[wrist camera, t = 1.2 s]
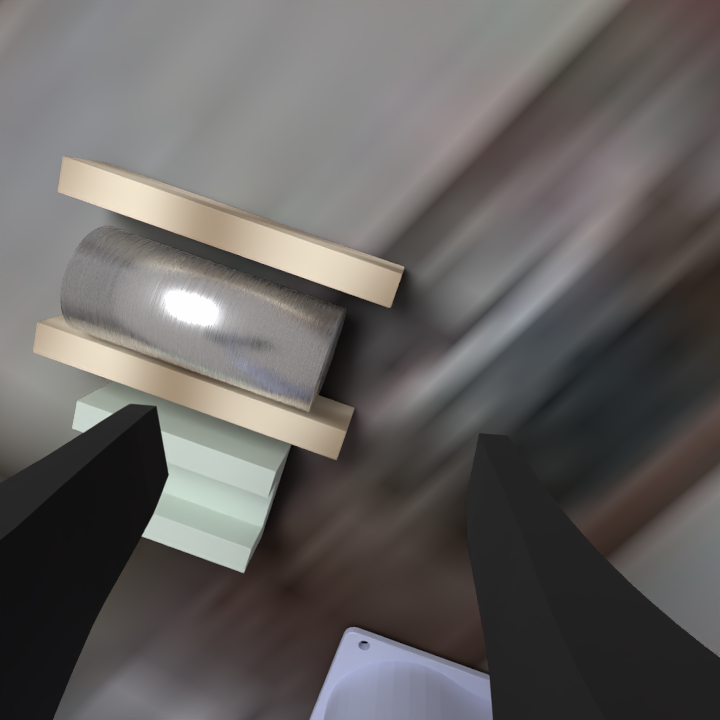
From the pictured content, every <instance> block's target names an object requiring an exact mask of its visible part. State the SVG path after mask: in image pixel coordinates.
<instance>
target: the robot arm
mask: <svg viewBox="0 0 720 720" xmlns="http://www.w3.org/2000/svg"><path fill="white" fill-rule="evenodd" d="M168 476H169V473H168V467H167V462H166V456H165V450H164V445H163V439H162V434H161V428H160V422H159V417H158V411H157V406H152V405H141V404H129V405H127V406H125V407H123V408H122V409H120V410H118V411H117V412H115V413H113V414H112V415H110V416H109V417H107V418H105V419H104V420H102V421H101V422H99V423H98V424H96V425H95V426H93V427H92V428H90V429H88V430H87V431H85V432H84V433H82V434H81V435H79V436H78V437H76V438H74V439H73V440H71V441H70V442H68V443H67V444H65V445H63V446H62V447H60V448H59V449H57V450H56V451H54V452H52V453H51V454H49V455H48V456H46V457H44V458H43V459H41V460H39V461H37V462H36V463H34V464H32V465H31V466H29V467H27V468H25V469H24V470H22V471H20V472H19V473H17V474H15V475H13V476H12V477H10V478H8V479H7V480H5V481H3V482H2V483H0V720H53V718H54V715H55V713H56V711H57V708H58V706H59V703H60V701H61V698H62V696H63V694H64V691H65V689H66V686H67V684H68V681H69V679H70V676H71V674H72V672H73V669H74V667H75V665H76V662H77V660H78V658H79V655H80V653H81V651H82V649H83V646H84V644H85V642H86V640H87V637H88V635H89V633H90V630H91V628H92V626H93V624H94V622H95V620H96V618H97V616H98V614H99V612H100V610H101V608H102V606H103V604H104V602H105V601H106V599H107V597H108V595H109V593H110V592H111V590H112V588H113V586H114V585H115V583H116V581H117V579H118V577H119V576H120V574H121V572H122V570H123V569H124V567H125V565H126V563H127V561H128V560H129V558H130V556H131V554H132V553H133V551H134V549H135V547H136V545H137V544H138V542H139V540H140V538H141V536H142V535H143V533H144V531H145V529H146V527H147V525H148V524H149V522H150V520H151V518H152V516H153V514H154V512H155V509H156V507H157V504H158V502H159V500H160V497H161V494H162V492H163V489H164V486H165V484H166V481H167V478H168ZM466 522H467V538H468V548H469V554H470V560H471V566H472V571H473V577H474V583H475V588H476V594H477V599H478V605H479V611H480V616H481V622H482V627H483V633H484V638H485V644H486V652H487V659H488V667H489V675H487V674H485V673H482V672H479V671H476V670H474V669H471V668H468V667H465V666H463V665H460V664H457V663H454V662H451V661H449V660H446V659H443V658H440V657H438V656H435V655H432V654H429V653H427V652H424V651H421V650H418V649H415V648H413V647H410V646H407V645H404V644H402V643H399V642H396V641H393V640H391V639H388V638H385V637H382V636H379V635H377V634H374V633H371V632H368V631H366V630H363V629H360V628H357V627H350V628H348V629H346V631H345V632H344V635H343V637H342V639H341V642H340V644H339V647H338V649H337V652H336V654H335V657H334V659H333V662H332V664H331V667H330V669H329V672H328V674H327V677H326V679H325V682H324V684H323V687H322V689H321V692H320V694H319V697H318V699H317V702H316V704H315V707H314V709H313V712H312V714H311V717H310V719H309V720H720V657H718V656H717V655H716V654H714V653H713V652H712V651H710V650H709V649H708V648H706V647H705V646H704V645H702V644H701V643H700V642H699V641H697V640H696V639H695V638H694V637H692V636H691V635H690V634H689V633H687V632H686V631H685V630H684V629H682V628H681V627H680V626H679V625H677V624H676V623H675V622H674V621H673V620H672V619H670V618H669V617H668V616H667V615H666V614H665V613H663V612H662V611H661V610H660V609H659V608H658V607H656V606H655V605H654V604H653V603H652V602H651V601H649V600H648V599H647V598H646V597H645V596H644V595H643V594H642V593H641V592H639V591H638V590H637V589H636V588H635V587H634V586H633V585H632V584H631V583H630V582H629V581H628V580H627V579H626V578H625V577H624V576H623V575H622V574H620V573H619V572H618V571H617V570H616V569H615V568H614V567H613V566H612V565H611V564H610V563H609V562H608V561H607V560H606V559H605V558H604V557H603V556H602V555H601V554H600V553H599V552H598V550H597V549H596V548H595V547H594V546H593V545H592V544H591V543H590V542H589V541H588V539H587V538H586V537H585V536H584V535H583V534H582V533H581V531H580V530H579V529H578V528H577V527H576V526H575V525H574V523H573V522H572V521H571V520H570V519H569V517H568V516H567V515H566V514H565V513H564V511H563V510H562V509H561V507H560V506H559V505H558V504H557V502H556V501H555V500H554V499H553V497H552V496H551V495H550V493H549V492H548V491H547V490H546V488H545V487H544V486H543V484H542V483H541V482H540V480H539V479H538V478H537V476H536V475H535V473H534V472H533V471H532V469H531V468H530V466H529V465H528V464H527V462H526V461H525V459H524V458H523V456H522V455H521V454H520V452H519V451H518V449H517V448H516V446H515V445H514V443H513V442H512V441H511V439H510V438H509V437H508V436H505V435H493V434H482V433H479V437H478V442H477V447H476V452H475V457H474V462H473V467H472V472H471V477H470V482H469V487H468V492H467V497H466ZM360 641H367V642H368V643H367V644H364V643H362V642H360Z"/></svg>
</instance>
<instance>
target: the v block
mask: <svg viewBox="0 0 720 720" xmlns="http://www.w3.org/2000/svg"><path fill="white" fill-rule="evenodd" d="M129 404H141V405H152V406H157V411H158V417H159V422H160V428H161V434H162V439H163V445H164V450H165V456H166V462H167V467H168V473H169V476H168V478H167V481H166V484H165V486H164V489H163V492H162V494H161V497H160V500H159V502H158V504H157V507H156V509H155V512H154V514H153V516H152V518H151V520H150V522H149V524H148V525H147V527H146V529H145V531H144V533H143V535H142V536H143V537H145V538H148V539H151V540H154V541H156V542H159V543H162V544H165V545H167V546H170V547H173V548H176V549H179V550H181V551H184V552H187V553H190V554H192V555H195V556H198V557H201V558H204V559H206V560H209V561H212V562H215V563H217V564H220V565H223V566H226V567H228V568H231V569H234V570H237V571H240V572H242V573H244V572H245V569H246V567H247V565H248V563H249V561H250V559H251V557H252V555H253V553H254V551H255V549H256V547H257V545H258V543H259V541H260V539H261V537H262V534H263V531H264V528H265V525H266V522H267V518H268V515H269V512H270V509H271V506H272V503H273V500H274V497H275V494H276V491H277V487H278V484H279V481H280V478H281V475H282V472H283V469H284V466H285V463H286V460H287V456H288V453H289V450H290V447H291V444H289V443H286V442H283V441H281V440H278V439H275V438H272V437H269V436H267V435H264V434H261V433H258V432H255V431H253V430H250V429H247V428H244V427H241V426H239V425H236V424H233V423H230V422H227V421H224V420H222V419H219V418H216V417H213V416H210V415H208V414H205V413H202V412H199V411H196V410H194V409H191V408H188V407H185V406H182V405H179V404H177V403H174V402H171V401H168V400H165V399H163V398H160V397H157V396H154V395H151V394H149V393H146V392H143V391H140V390H137V389H135V388H132V387H129V386H126V385H123V384H120V383H118V382H115V381H113V382H111V383H109V384H107V385H105V386H104V387H102V388H100V389H98V390H96V391H94V392H93V393H91V394H89V395H87V396H85V397H83V398H82V399H80V400H78V401H77V405H76V410H75V416H74V421H73V427H72V429H75V430H78V431H81V432H85V431H87V430H88V429H90V428H92V427H93V426H95V425H96V424H98V423H99V422H101V421H102V420H104V419H105V418H107V417H109V416H110V415H112V414H113V413H115V412H117V411H118V410H120V409H122V408H123V407H125V406H127V405H129Z"/></svg>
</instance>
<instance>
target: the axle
mask: <svg viewBox="0 0 720 720" xmlns="http://www.w3.org/2000/svg"><path fill="white" fill-rule="evenodd" d="M61 309H62V314H63V317H64V319H65V321H66V323H67V324H68V325H69V326H70V327H71V328H73V329H75V330H78V331H81V332H83V333H86V334H89V335H92V336H95V337H97V338H100V339H103V340H106V341H109V342H112V343H114V344H117V345H120V346H123V347H126V348H129V349H131V350H134V351H137V352H140V353H143V354H145V355H148V356H151V357H154V358H157V359H160V360H162V361H165V362H168V363H171V364H174V365H177V366H179V367H182V368H185V369H188V370H191V371H193V372H196V373H199V374H202V375H205V376H208V377H210V378H213V379H216V380H219V381H222V382H224V383H227V384H230V385H233V386H236V387H239V388H241V389H244V390H247V391H250V392H253V393H256V394H258V395H261V396H264V397H267V398H270V399H272V400H275V401H278V402H281V403H284V404H287V405H289V406H292V407H295V408H298V409H301V410H303V411H306V412H310V411H311V410H312V408H313V406H314V404H315V402H316V400H317V398H318V395H319V393H320V390H321V388H322V385H323V383H324V380H325V378H326V375H327V372H328V370H329V367H330V364H331V361H332V359H333V356H334V353H335V350H336V347H337V344H338V341H339V337H340V334H341V331H342V327H343V324H344V320H345V316H346V308H343V307H341V306H338V305H335V304H332V303H329V302H326V301H323V300H321V299H318V298H315V297H312V296H309V295H306V294H303V293H301V292H298V291H295V290H292V289H289V288H286V287H284V286H281V285H278V284H275V283H272V282H269V281H266V280H264V279H261V278H258V277H255V276H252V275H249V274H246V273H244V272H241V271H238V270H235V269H232V268H229V267H226V266H224V265H221V264H218V263H215V262H212V261H209V260H207V259H204V258H201V257H198V256H195V255H192V254H189V253H187V252H184V251H181V250H178V249H175V248H172V247H169V246H167V245H164V244H161V243H158V242H155V241H152V240H149V239H147V238H144V237H141V236H138V235H135V234H132V233H130V232H127V231H124V230H121V229H118V228H115V227H112V226H102V227H99V228H97V229H95V230H93V231H92V232H91V233H89V234H88V235H87V236H86V237H85V238H84V239H83V240H82V242H81V243H80V244H79V245H78V247H77V248H76V250H75V251H74V253H73V255H72V257H71V259H70V261H69V263H68V266H67V268H66V271H65V274H64V278H63V282H62V288H61Z"/></svg>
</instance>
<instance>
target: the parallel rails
mask: <svg viewBox="0 0 720 720" xmlns="http://www.w3.org/2000/svg"><path fill="white" fill-rule="evenodd" d="M58 192H60V193H63V194H65V195H68V196H71V197H74V198H77V199H80V200H83V201H85V202H88V203H91V204H94V205H97V206H100V207H103V208H105V209H108V210H111V211H114V212H117V213H120V214H123V215H125V216H128V217H131V218H134V219H137V220H140V221H143V222H145V223H148V224H151V225H154V226H157V227H160V228H163V229H165V230H168V231H171V232H174V233H177V234H180V235H183V236H185V237H188V238H191V239H194V240H197V241H200V242H203V243H205V244H208V245H211V246H214V247H217V248H220V249H222V250H225V251H228V252H231V253H234V254H237V255H240V256H242V257H245V258H248V259H251V260H254V261H257V262H260V263H262V264H265V265H268V266H271V267H274V268H277V269H280V270H282V271H285V272H288V273H291V274H294V275H297V276H300V277H302V278H305V279H308V280H311V281H314V282H317V283H320V284H322V285H325V286H328V287H331V288H334V289H337V290H340V291H342V292H345V293H348V294H351V295H354V296H357V297H360V298H362V299H365V300H368V301H371V302H374V303H377V304H379V305H382V306H385V307H388V308H391V305H392V302H393V299H394V296H395V294H396V291H397V288H398V285H399V282H400V279H401V277H402V274H403V270H404V267H403V266H400V265H397V264H394V263H391V262H389V261H386V260H383V259H380V258H377V257H374V256H371V255H369V254H366V253H363V252H360V251H357V250H354V249H351V248H348V247H346V246H343V245H340V244H337V243H334V242H331V241H328V240H325V239H323V238H320V237H317V236H314V235H311V234H308V233H305V232H303V231H300V230H297V229H294V228H291V227H288V226H285V225H282V224H280V223H277V222H274V221H271V220H268V219H265V218H262V217H260V216H257V215H254V214H251V213H248V212H245V211H242V210H239V209H237V208H234V207H231V206H228V205H225V204H222V203H219V202H217V201H214V200H211V199H208V198H205V197H202V196H199V195H196V194H194V193H191V192H188V191H185V190H182V189H179V188H176V187H174V186H171V185H168V184H165V183H162V182H159V181H156V180H153V179H151V178H148V177H145V176H142V175H139V174H136V173H133V172H131V171H128V170H125V169H122V168H119V167H116V166H113V165H110V164H108V163H104V162H98V161H91V160H85V159H79V158H72V157H66V156H63V161H62V167H61V174H60V180H59V186H58ZM33 352H34V353H37V354H40V355H42V356H45V357H48V358H51V359H54V360H56V361H59V362H62V363H65V364H68V365H71V366H73V367H76V368H79V369H82V370H85V371H87V372H90V373H93V374H96V375H99V376H101V377H104V378H107V379H110V380H113V381H115V382H118V383H121V384H124V385H127V386H130V387H132V388H135V389H138V390H141V391H144V392H146V393H149V394H152V395H155V396H158V397H160V398H163V399H166V400H169V401H172V402H174V403H177V404H180V405H183V406H186V407H189V408H191V409H194V410H197V411H200V412H203V413H205V414H208V415H211V416H214V417H217V418H219V419H222V420H225V421H228V422H231V423H234V424H236V425H239V426H242V427H245V428H248V429H250V430H253V431H256V432H259V433H262V434H264V435H267V436H270V437H273V438H276V439H278V440H281V441H284V442H287V443H290V444H293V445H295V446H298V447H301V448H304V449H307V450H309V451H312V452H315V453H318V454H321V455H323V456H326V457H329V458H332V459H335V460H337V457H338V455H339V452H340V449H341V446H342V443H343V440H344V438H345V435H346V432H347V429H348V426H349V423H350V420H351V417H352V414H353V411H354V409H355V408H354V407H351V406H348V405H345V404H342V403H340V402H337V401H334V400H331V399H328V398H325V397H323V396H320V395H318V398H317V400H316V402H315V404H314V406H313V408H312V410H311V411H310V412H306V411H303V410H301V409H298V408H295V407H292V406H289V405H287V404H284V403H281V402H278V401H275V400H272V399H270V398H267V397H264V396H261V395H258V394H256V393H253V392H250V391H247V390H244V389H241V388H239V387H236V386H233V385H230V384H227V383H224V382H222V381H219V380H216V379H213V378H210V377H208V376H205V375H202V374H199V373H196V372H193V371H191V370H188V369H185V368H182V367H179V366H177V365H174V364H171V363H168V362H165V361H162V360H160V359H157V358H154V357H151V356H148V355H145V354H143V353H140V352H137V351H134V350H131V349H129V348H126V347H123V346H120V345H117V344H114V343H112V342H109V341H106V340H103V339H100V338H97V337H95V336H92V335H89V334H86V333H83V332H81V331H78V330H75V329H73V328H71V327H70V326H69V325H68V324H67V323H66V321H65V319H64V317H63V315H61V316H58V317H54V318H51V319H47V320H44V321H40V322H37V328H36V335H35V341H34V348H33Z"/></svg>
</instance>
